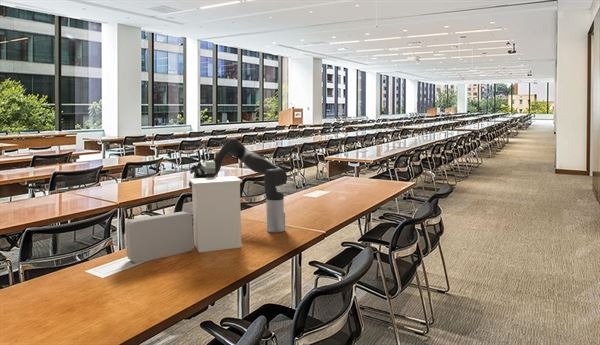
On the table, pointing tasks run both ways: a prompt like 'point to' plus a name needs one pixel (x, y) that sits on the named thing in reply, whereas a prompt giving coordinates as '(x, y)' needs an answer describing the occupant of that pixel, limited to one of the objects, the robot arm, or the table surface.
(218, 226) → the tall stand
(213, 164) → the bar
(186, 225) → the rounded white slab
